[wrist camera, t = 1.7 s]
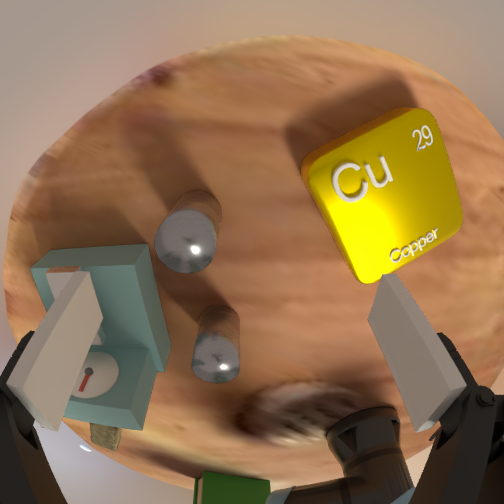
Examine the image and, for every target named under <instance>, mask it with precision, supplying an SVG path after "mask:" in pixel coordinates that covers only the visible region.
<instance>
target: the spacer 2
mask: <svg viewBox="0 0 504 504" xmlns="http://www.w3.org/2000/svg"><path fill="white" fill-rule="evenodd" d="M239 348H240V319H239V316H238V315H237V313H236V312H235V311H234V310H233V309H231V308H229V307H226V306H222V305H215V306H211V307H208V308H206V309H205V310H204V311H203V312H202V313H201V315H200V319H199V325H198V330H197V336H196V342H195V347H194V353H193V359H192V370H193V372H194V373H195V375H196V376H198V377H199V378H200V379H202V380H204V381H207V382H211V383H224V382H228V381H230V380H232V379H234V378H235V377H236V376H237V375H238V373H239Z"/></svg>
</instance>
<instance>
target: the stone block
mask: <svg viewBox="0 0 504 504" xmlns="http://www.w3.org/2000/svg"><path fill="white" fill-rule="evenodd" d="M121 429H122V428H118V427H112V426H106V425H100V424H95V423H90V430H91V441H92V442H93V443H95V444H97V445H100V446H102V447H105V448H108V449H110V450H113V451H117V448H118V445H119V443H120V440H121Z"/></svg>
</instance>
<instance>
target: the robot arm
mask: <svg viewBox="0 0 504 504" xmlns="http://www.w3.org/2000/svg"><path fill="white" fill-rule="evenodd" d="M102 320H103V316H102V313H101V309H100V306H99V303H98V300H97V297H96V293H95V290H94V287H93V283H92V280H91V276H90V272H88V271H75V272H74V274H73V275H72V277H71V278H70V279H69V281H68V282H67V284H66V285H65V286H64V288H63V289H62V291H61V292H60V294H59V295H58V297H57V298H56V300H55V301H54V303H53V304H52V306H51V307H50V309H49V310H48V312H47V313H46V315H45V316H44V318H43V320H42V321H41V323H40V324H39V326H38V328H37V329H36V331H30V332H29V333H27V334H26V335H25V336H24V337H23V338H22V339H21V341H20V343H19V344H18V346H17V349H16V350H15V351H14V353H13V354H12V357H11V358H10V360H9V362H8V363H7V365H6V367H5V369H4V371H3V372H2V374H1V376H0V504H68V503H67V502H66V500H65V498H64V496H63V494H62V492H61V490H60V488H59V485H58V483H57V482H56V479H55V477H54V475H53V473H52V470H51V468H50V466H49V463H48V461H47V458H46V456H45V453H44V451H43V448H42V446H41V443H40V440H39V437H38V435H37V432H36V430H35V428H34V426H33V423H34V421H35V420H36V421H37V422H38V423H39V424H40V426H41V427H43V428H46V429H49V430H52V431H55V432H58V429H59V426H60V423H61V421H62V418H63V415H64V412H65V409H66V406H67V404H68V401H69V398H70V396H71V393H72V390H73V388H74V385H75V383H76V380H77V378H78V375H79V373H80V370H81V368H82V365H83V363H84V360H85V358H86V356H87V353H88V351H89V349H90V346H91V344H92V342H93V340H94V337H95V335H96V333H97V331H98V329H99V326H100V324H101V322H102ZM368 322H369V324H370V326H371V328H372V330H373V333H374V335H375V337H376V339H377V341H378V343H379V346H380V348H381V350H382V352H383V355H384V357H385V359H386V361H387V364H388V366H389V368H390V371H391V373H392V375H393V378H394V380H395V382H396V385H397V387H398V389H399V392H400V394H401V397H402V399H403V402H404V404H405V407H406V409H407V412H408V414H409V417H410V419H411V422H412V424H413V427H414V430H415V432H420V431H423V430H427V429H430V428H432V427H433V426H434V425H435V423H436V422H437V421H438V420H439V421H440V424H441V426H440V428H439V429H438V430H437V431H436V432H435V433H434V434H433V435H432V436H431V437H430V439H429V441H432V440H433V439H434V438H435V437H436V438H435V440H434V443H433V446H432V449H431V452H430V454H429V458H428V460H427V462H426V465H425V467H424V470H423V472H422V475H421V478H420V479H419V482H418V484H417V486H416V488H415V487H414V485H413V482H412V479H411V476H410V474H409V470H408V468H407V465H406V462H405V459H404V456H403V453H402V451H401V448H400V419H399V417H398V414H397V412H396V411H395V410H394V409H392V408H388V407H377V408H371V409H367V410H363V411H360V412H357V413H355V414H352V415H350V416H348V417H346V418H344V419H343V420H341V421H339V422H338V423H337V424H335V425H334V426H333V427H332V428H331V429H330V430H329V432H328V434H327V442H328V446H329V449H330V450H331V452H332V453H333V455H334V456H335V458H336V459H337V461H338V462H339V464H340V465H341V467H342V469H343V473H344V477H343V478H339V479H334V480H330V481H325V482H320V483H315V484H310V485H304V486H297V487H296V486H292V487H291V488H286V489H280V490H275V491H273V492H272V493H270V495H269V496H268V498H267V500H266V503H265V504H504V395H495V394H494V393H493V392H492V391H491V389H489V388H487V387H486V386H478V384H477V383H476V381H475V379H474V378H473V376H472V374H471V373H470V371H469V369H468V367H467V366H466V364H465V362H464V361H463V359H461V356H460V354H459V353H458V351H456V348H455V346H454V345H453V343H452V341H451V340H450V339H449V338H448V337H446V336H445V335H444V334H443V333H442V332H441V333H436V332H435V330H434V329H433V327H432V326H431V324H430V323H429V321H428V319H427V318H426V316H425V315H424V313H423V312H422V310H421V309H420V307H419V306H418V304H417V303H416V301H415V300H414V298H413V297H412V296H411V294H410V293H409V291H408V290H407V288H406V287H405V286H404V284H403V283H402V281H401V280H400V278H399V277H398V276H397V274H382V276H381V279H380V283H379V286H378V289H377V293H376V296H375V299H374V302H373V305H372V308H371V311H370V314H369V317H368Z"/></svg>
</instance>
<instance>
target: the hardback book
mask: <svg viewBox="0 0 504 504" xmlns="http://www.w3.org/2000/svg"><path fill="white" fill-rule="evenodd" d="M270 493H271V492H270V481H268V480H258V479H250V478H243V477H236V476H230V475H224V474H219V473H213V472H208V471H203V477H202V478H201V479H199V478H195V486H194V500H193V504H265V503H266V500H267V498H268V496H269V495H270Z"/></svg>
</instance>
